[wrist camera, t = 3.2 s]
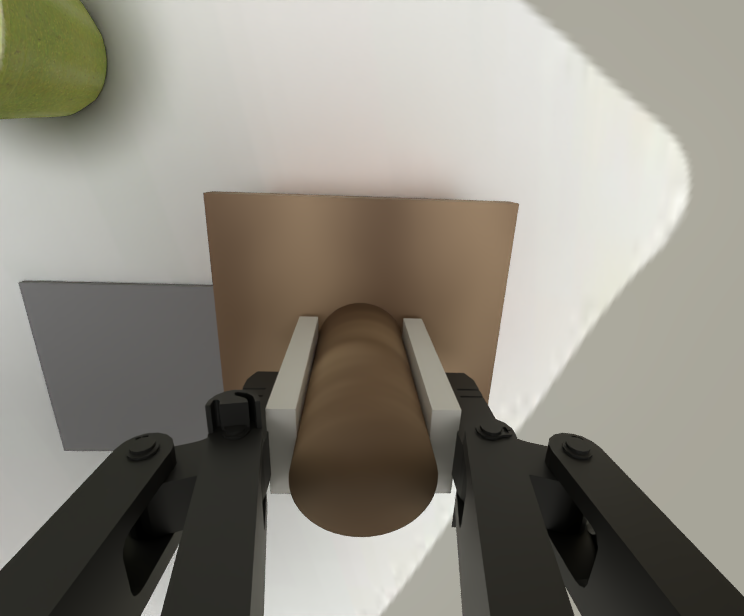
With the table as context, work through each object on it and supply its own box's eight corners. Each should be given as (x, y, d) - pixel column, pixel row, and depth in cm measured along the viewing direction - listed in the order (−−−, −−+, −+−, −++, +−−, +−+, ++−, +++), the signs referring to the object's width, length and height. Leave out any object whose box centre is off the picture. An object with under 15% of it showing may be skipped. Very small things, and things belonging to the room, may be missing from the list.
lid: (236, 442, 20) (146, 649, 11) (212, 191, 16) (45, 220, 7) (474, 442, 20) (558, 640, 12) (509, 201, 16) (675, 239, 8)
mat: (68, 446, 28) (64, 450, 27) (23, 280, 24) (18, 282, 23) (242, 447, 28) (241, 451, 28) (228, 285, 24) (226, 287, 24)
